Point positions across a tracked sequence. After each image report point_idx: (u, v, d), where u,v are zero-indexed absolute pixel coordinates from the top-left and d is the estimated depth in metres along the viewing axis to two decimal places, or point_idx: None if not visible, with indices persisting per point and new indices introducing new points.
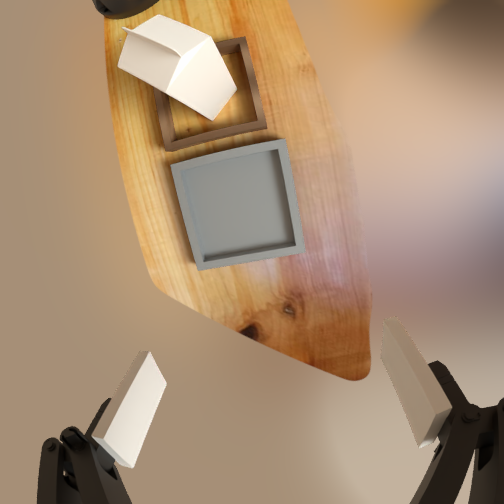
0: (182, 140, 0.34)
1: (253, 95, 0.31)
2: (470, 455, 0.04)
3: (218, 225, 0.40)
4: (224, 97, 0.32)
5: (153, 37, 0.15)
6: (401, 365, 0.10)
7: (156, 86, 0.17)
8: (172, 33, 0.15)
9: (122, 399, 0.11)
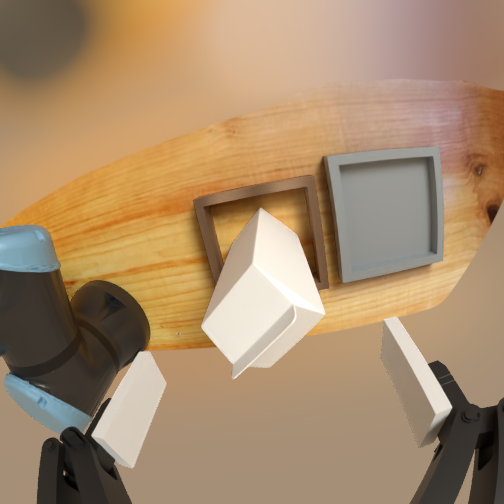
0: (320, 270, 0.33)
1: (275, 190, 0.30)
2: (470, 455, 0.04)
3: (406, 234, 0.33)
4: (276, 223, 0.31)
5: (250, 337, 0.16)
6: (401, 365, 0.10)
7: (314, 325, 0.17)
8: (243, 313, 0.16)
9: (122, 399, 0.11)
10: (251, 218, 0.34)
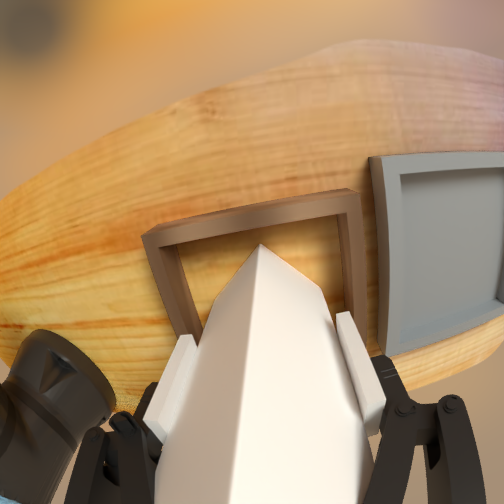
0: None
1: (288, 219, 0.16)
2: (412, 447, 0.06)
3: (473, 280, 0.19)
4: (288, 278, 0.17)
5: None
6: (347, 357, 0.12)
7: None
8: None
9: (171, 380, 0.12)
10: (244, 263, 0.20)
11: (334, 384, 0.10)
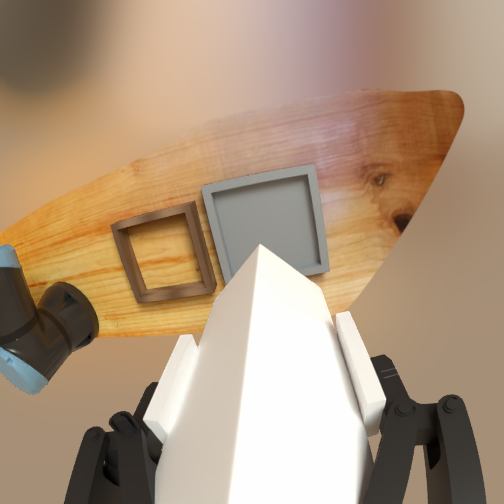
0: (204, 278, 0.41)
1: (162, 216, 0.38)
2: (412, 447, 0.06)
3: (287, 247, 0.41)
4: (288, 278, 0.17)
5: None
6: (347, 357, 0.12)
7: None
8: None
9: (171, 380, 0.12)
10: (244, 263, 0.20)
11: (334, 385, 0.10)
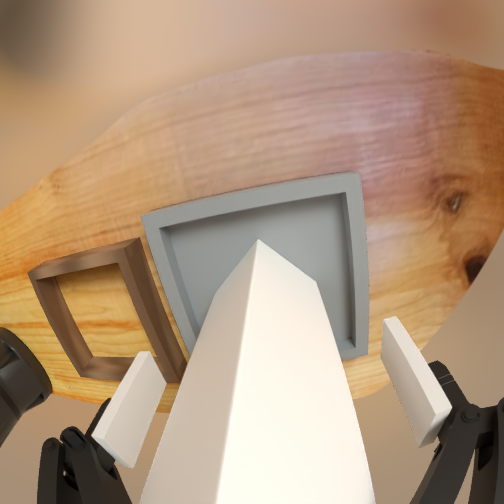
0: (162, 363, 0.23)
1: (86, 266, 0.20)
2: (470, 455, 0.04)
3: None
4: (284, 271, 0.18)
5: None
6: (401, 365, 0.10)
7: None
8: None
9: (122, 399, 0.11)
10: (243, 257, 0.21)
11: (325, 367, 0.11)
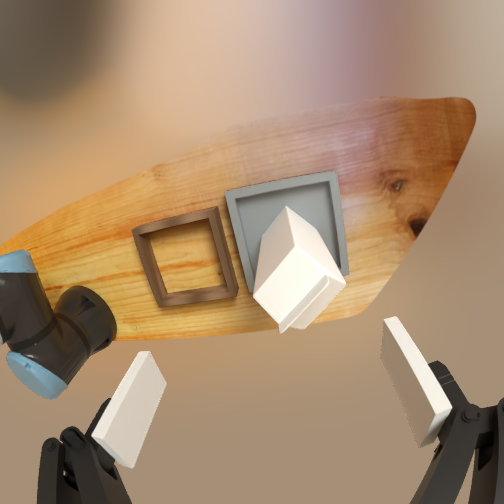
0: (227, 282, 0.42)
1: (185, 221, 0.39)
2: (470, 455, 0.04)
3: None
4: (300, 219, 0.37)
5: (293, 300, 0.22)
6: (401, 365, 0.10)
7: (338, 293, 0.23)
8: (288, 282, 0.22)
9: (122, 399, 0.11)
10: (278, 215, 0.40)
11: (320, 246, 0.30)
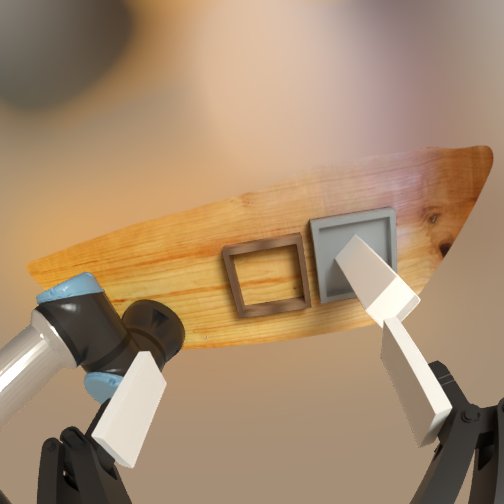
0: (305, 295, 0.50)
1: (276, 246, 0.47)
2: (470, 455, 0.04)
3: None
4: None
5: (393, 312, 0.30)
6: (401, 365, 0.10)
7: None
8: (391, 300, 0.30)
9: (122, 399, 0.11)
10: (349, 241, 0.48)
11: None
